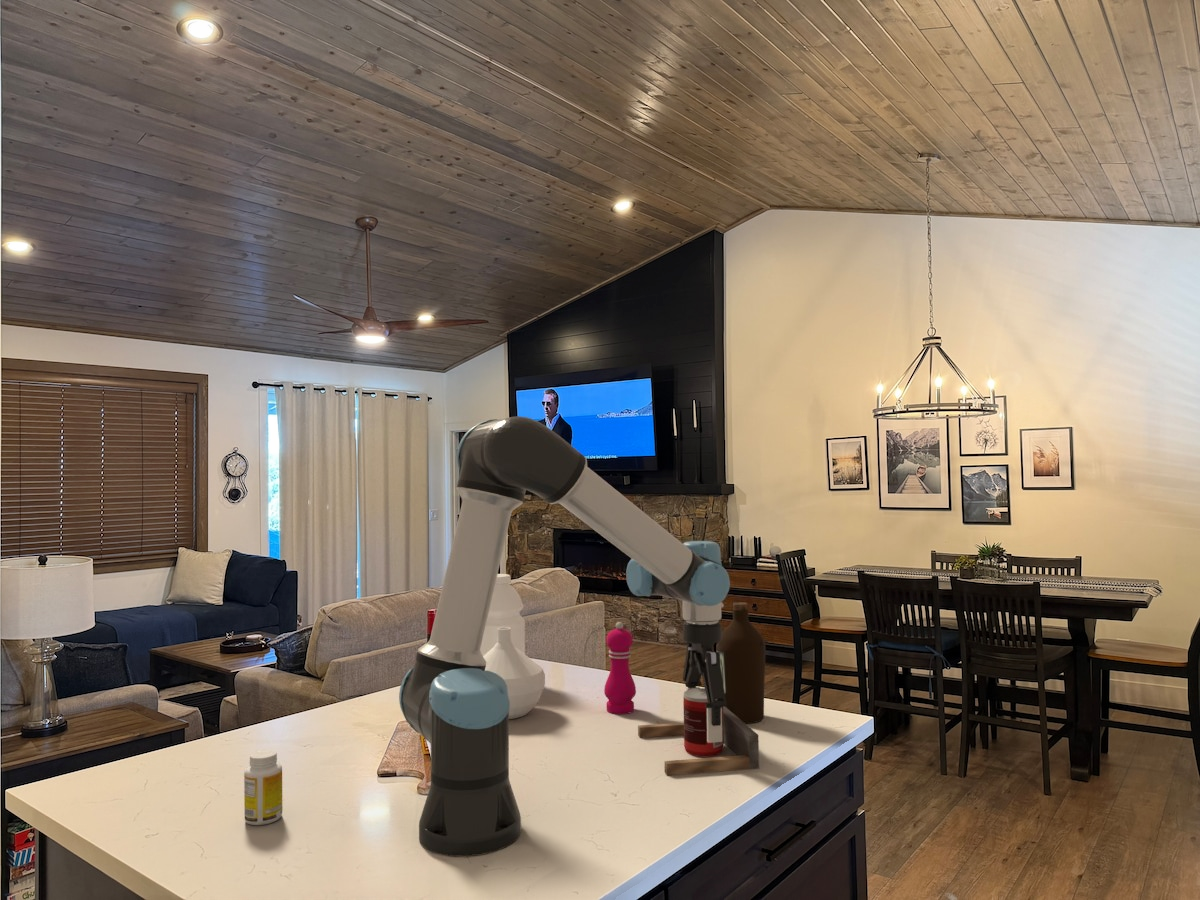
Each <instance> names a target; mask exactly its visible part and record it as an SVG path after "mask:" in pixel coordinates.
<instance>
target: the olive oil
mask: <svg viewBox="0 0 1200 900" xmlns="http://www.w3.org/2000/svg"><path fill="white" fill-rule="evenodd" d="M732 607H733V609H732V621H731V622H730V623H729V624H728V625H727V626H726V627H725V628H724V629H723V630H722V640H721V641H720V642H719V643H716V652H719V654H720V666H721V673H722V679H723V686H724V692H725V699H726V706H725V707H726V708H727V709H728V710H730V711H731V712H732V713H733V714H734V715H736V716H737V717H738V718H739V719H740V720H741V721H743V722H744V723H745V724H754V723H759V722H761V721H763V719H764V718H765V679H766V678H765V676H766V673H765V672H766V655H767V654H766V652H767V651H766V642H765V640H764V637H763V636H762V634H761V633H760V631H759V630H757V628H756V627H755V626H754V625H753V624H752V623H751V622H750V620H749V609H748V603H747V602H745V601H744V602H742V601H739V602H737V601H736V602H733V604H732Z"/></svg>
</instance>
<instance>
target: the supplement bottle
mask: <svg viewBox="0 0 1200 900" xmlns="http://www.w3.org/2000/svg"><path fill="white" fill-rule="evenodd" d="M277 757H278V753H277V751H276V750H272V749H266V750H265V749H263V750H258V751H255V752H253V753H251V754H250V755H249V766H248V767H246V768H245V770H244V775H243V777H244V779H243V781H244V782H243V783H244V786H243V787H244V788H243V789H244V791H243V792H244V797H243V798H244V821H245V822H246V823H247V824H248V825H250V826H251V825H252V826H265V825H269V824H272V823H274V822H276V821H278V820H279V819H280V818H282V815H283V766H282V764H281V763H280V762H278V758H277Z"/></svg>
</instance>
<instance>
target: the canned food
mask: <svg viewBox="0 0 1200 900" xmlns="http://www.w3.org/2000/svg"><path fill="white" fill-rule="evenodd" d="M716 700H717V699H716ZM706 703H708V700H707V695H706V691H705V687H704V688H703V687H702V688H701V687H700V688H697V689H691V690H687V691H686V690H685V691H684V692H683V723H684V735H683V745H684V750H685V751H686V753H687V754H689V755H691V756H695V757H703V758H704V757H705V758H710V757H716V756H718V755H720V754H722V753H723V750H724V746H725V744H724V734H723V707H722V742H713V743H708V742H707V708H705V705H706Z"/></svg>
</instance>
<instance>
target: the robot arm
mask: <svg viewBox="0 0 1200 900" xmlns="http://www.w3.org/2000/svg"><path fill="white" fill-rule="evenodd" d="M456 450H457V451H456V463H457V467H458V469H459V476H458V480H457V483H456V488H455V489H456V491H457V493H458V494H459V496H460V498H461V501H462V502H461V507H460V510H459V514H458V515H459V516H458V519H457V524H456V527H455V532H454V537H453V540H452V545H451V547H450V548H451V549H450V552H449V556H448V557H449V558H448V562H447V565H446V570H445V574H444V579H443V582H442V587H441V591H440V595H439V600H438V603H437V607H436V612H435V616H434V621H433V623H432V629H431V634H430V638H429V640H428V641H427V642H426V643H425V644H423V645H421V646H420V647H419V648H417V652H416V655H415V659H414V660H415V661H414V664H413V666H412V667H411V668H410V669H409V670H408V671H407V672H406V674H405V676H404V677H403V679H402V681H401V684H400V688H399V692H398V693H399V694H398V698H399V699H398V700H399V707H400V710H401V712H402V715H403V717H404V719H405V721H406V722H407V723H408V724H409V726H410V728H411V729H412V730H413V731H415V732H416V733H418V734H420V736H422V737H423V738H424V739H425V740H426V741H427V742H428V743H429V744H430V787H429V790H428V793H427V796H426V799H425V803H424V806H423V809H422V812H421V816H420V818H419V824H418V839H419V843H420V845H421V846H422V847H424V848H425V849H427V850H428V851H430V852H433V853H436V854H439V855H444V856H453V857H466V856H467V857H468V856H478V855H483V854H484V855H485V854H489V853H492V852H493V853H494V852H495V851H499V850H502V849H504V848H506V847H507V846H510V845H511V844H513V843H514V842H515V841H516V840H517V839H518V838H519V837H520V835H521V832H522V817H521V812H520V810H519V807H518V803H517V800H516V797H515V794H514V790H513V787H512V784H511V782H510V775H509V771H510V769H509V768H510V762H509V761H510V757H509V755H510V750H509V746H510V745H509V744H510V743H509V742H510V733H509V732H510V729H509V728H510V727H509V726H510V723H509V722H510V719H509V708H510V707H509V705H510V701H509V697H508V689H507V684H506V682H505V681H504V679H503V678H502V677H500V676H499V675H498V674H496V673H494V672H491V671H488V670H487V671H485V667H486V663H487V662H486V661H485V659H484V657H483V656H482V654H481V651H480V648H481V644H482V640H483V635H484V631H485V626H486V622H487V618H488V613H489V609H490V604H491V600H492V596H493V591H494V587H495V583H496V578H497V574H499V569H500V565H501V560H502V556H503V552H504V547H505V543H506V539H507V534H508V530H509V524H510V521H511V516H512V513H513V511H514V510H516V509H517V508H519V507H520V506H522V505H523V504H524V499H525V496H526V495H525V494H526V491H528V492H530V493H533V494H534V495H536V496H538V497H540V498H541V499H542V500H544V501H545V502H547V503H548V504H550V505H556V504H559V505H561V506H562V507H563V508H565V509H566V510H567V511H569V512H570V513H571V514H572V515H574V516H575V517H577V518H578V519H579V520H580V521H582V523H584V524H585V525H586V526H589V527H590V528H591V529H592V530H594V531H595V532H596V533H598V534H599V535H600V536H601V537H603V538H604V539H606V540H607V541H608V543H609V542H610V544H612V545H613V546H615V547H616V548H617V549H619V550H620V551H621V552H622V553H624V554H625V555H626V556H628V557H629V558H630V560H629V562H628V563H627V566H626V569H625V570H626V571H625V572H626V573H625V574H626V583H627V587H628V588H629V591H630V592H631V593H632V594H633V595H634V596H636V597H648V598H649V597H651V596H662V597H665V598H669V599H674V600H679V601H682V619H683V620H684V622H683V623H682V631H683V632H682V633H683V634H682V636H683V637H682V639H683V640H684V642H686V652H685V653H686V654H685V659H684V660H685V661H684V668H683V675H682V681H683V683H685V684H684V685H685V688H686V690H685V691H687V690H691V689H697V688H701V687H702V686H703V685H704V686H703V687H704V688H705V691H706V695H707V700H708V703H706V705H705V708H707V742H708V743H713V742H722V707H723V706H726V699H725V692H724V686H723V679H722V673H721V666H720V654H719V652H717V651H716V652H715V651H714V645H715V644H717V643H719V642H720V641H721V640H722V632H723V623H721V619H722V608H724V605H725V604H724V603H723V601H724V600H725V599H726V597H727V595H728V593H729V591H730V587H731V586H730V585H731V580H730V576H729V573H728V571H727V570H726V569H725V568H724V567H723V564H722V557H721V556H722V555H721V554H722V553H721V547H720V545H719V544H718V542H715V541H709V540H689V541H685V542H683V543H682V541H680V540H679V539H677V538H676V536H674V535H673V534H671V533H670V532H669V531H668V530H666V529H665V528H664V527H663V526H662V525H661V524H659V523H658V522H656V521H655V520H654V519H653V518H652V517H650V516H649V515H648V514H647V513H645V512H644V511H643V510H642V509H640V507H638V506H637V505H635V503H633V502H632V501H631V500H629V499H628V498H626V496H624V495H623V494H622V493H621V492H619V491H618V490H617V489H615V488H614V487H613V486H612V485H611V484H609V483H608V482H607V481H606V480H605V479H603V478H602V477H601V476H600V475H598V474H597V473H596V472H595V471H593V470H592V469H591V468H590V467H588V460H587V457H586V456H584V455H583V453H581V452H580V451H579V450H577V449H576V448H575V447H574V446H572V445H571V444H570V443H569V442H568V441H566V439H564V438H562V436H560V435H559V434H557V432H555V431H553V430H552V429H550V428H549V427H548V426H546V425H545V424H543V423H541V422H540V421H538V420H536V419H533V418H530V417H527V416H521V415H520V416H518V415H517V416H511V417H510V416H509V417H506V418H500V419H497V418H496V419H488V420H487V419H486V420H485V421H482V422H479V423H477V424H476V425H475V426H473V427H470V429H469V430H468V431H467V432H465V434H464V435H463V436H462V437H461V440H460V442H459V443H458V447H457V449H456ZM701 678H702V681H703V685H702V681H701ZM716 699H717V700H716Z"/></svg>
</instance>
